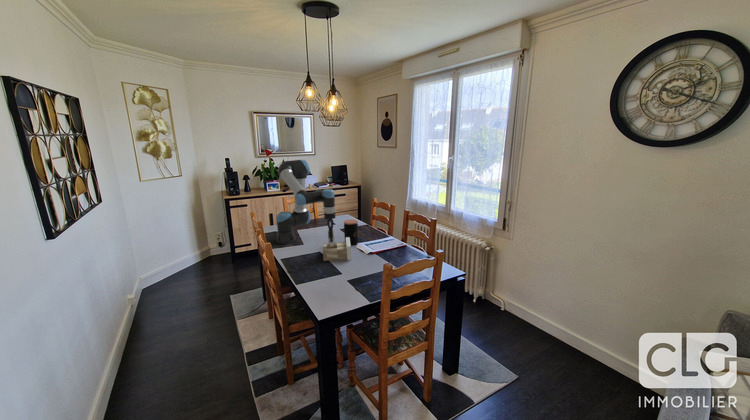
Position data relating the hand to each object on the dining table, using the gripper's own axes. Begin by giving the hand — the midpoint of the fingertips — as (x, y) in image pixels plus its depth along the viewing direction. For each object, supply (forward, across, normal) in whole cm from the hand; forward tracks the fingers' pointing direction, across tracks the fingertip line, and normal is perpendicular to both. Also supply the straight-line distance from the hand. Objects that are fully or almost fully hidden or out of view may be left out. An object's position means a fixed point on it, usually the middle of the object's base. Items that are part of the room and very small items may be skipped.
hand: (331, 244), depth 202 cm
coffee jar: (+9, -22, +15) cm, 28 cm away
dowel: (0, 0, 0) cm, 0 cm away
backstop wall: (+9, 0, +11) cm, 14 cm away
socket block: (+8, 0, +2) cm, 9 cm away
